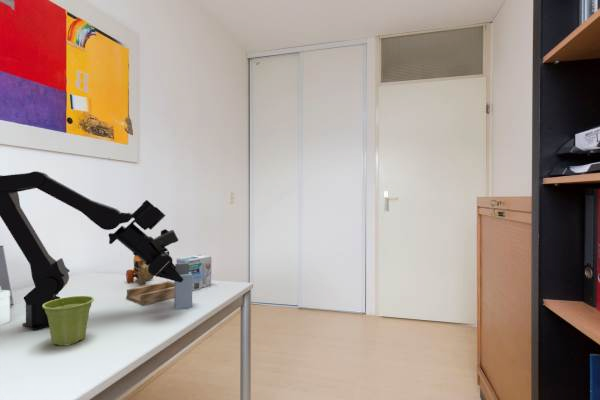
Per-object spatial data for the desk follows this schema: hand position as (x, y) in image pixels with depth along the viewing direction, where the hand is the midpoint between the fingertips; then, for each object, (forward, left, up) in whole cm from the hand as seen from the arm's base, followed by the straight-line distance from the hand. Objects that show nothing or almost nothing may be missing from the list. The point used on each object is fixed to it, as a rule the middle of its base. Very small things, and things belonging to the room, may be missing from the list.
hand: (180, 277), depth 98 cm
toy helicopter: (+11, +33, -9) cm, 36 cm away
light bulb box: (+18, +13, -9) cm, 24 cm away
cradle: (+3, +15, -8) cm, 17 cm away
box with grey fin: (+1, 0, -8) cm, 9 cm away
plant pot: (-28, +3, -9) cm, 30 cm away
